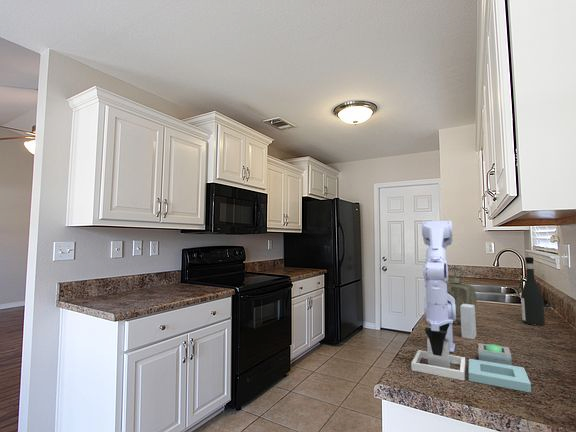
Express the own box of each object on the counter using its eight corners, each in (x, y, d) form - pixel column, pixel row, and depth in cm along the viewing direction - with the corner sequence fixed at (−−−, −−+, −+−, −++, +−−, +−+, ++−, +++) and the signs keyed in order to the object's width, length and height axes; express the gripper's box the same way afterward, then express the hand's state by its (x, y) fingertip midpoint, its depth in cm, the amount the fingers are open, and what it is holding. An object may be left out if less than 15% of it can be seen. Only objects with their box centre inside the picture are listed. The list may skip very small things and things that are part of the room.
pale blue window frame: (469, 365, 92) (469, 358, 92) (524, 375, 86) (523, 367, 86) (468, 380, 82) (468, 372, 82) (531, 392, 75) (530, 384, 76)
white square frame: (418, 356, 100) (418, 349, 100) (465, 364, 93) (465, 357, 93) (411, 370, 89) (411, 362, 89) (464, 380, 82) (464, 372, 82)
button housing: (478, 356, 100) (478, 343, 101) (509, 360, 96) (508, 347, 97) (479, 364, 94) (478, 350, 94) (512, 369, 90) (511, 354, 90)
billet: (429, 363, 94) (428, 335, 95) (450, 367, 91) (449, 338, 92) (428, 367, 91) (427, 339, 91) (449, 371, 88) (448, 342, 89)
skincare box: (464, 334, 125) (462, 303, 127) (476, 336, 123) (475, 304, 124) (461, 337, 121) (459, 305, 122) (473, 339, 118) (472, 307, 119)
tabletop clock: (477, 324, 140) (474, 268, 143) (471, 328, 134) (469, 269, 136) (443, 319, 151) (441, 266, 153) (436, 322, 144) (434, 267, 146)
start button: (486, 354, 98) (485, 343, 98) (501, 357, 96) (501, 345, 96) (486, 358, 94) (486, 346, 95) (502, 361, 92) (502, 349, 93)
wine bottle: (519, 323, 144) (515, 257, 147) (526, 321, 148) (522, 256, 151) (541, 327, 137) (536, 257, 140) (547, 324, 141) (543, 257, 144)
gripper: (450, 308, 84) (452, 361, 83) (453, 301, 97) (455, 346, 96) (422, 306, 88) (423, 356, 87) (428, 298, 100) (430, 343, 99)
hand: (438, 351), depth 91 cm, fingers open, 7 cm apart
